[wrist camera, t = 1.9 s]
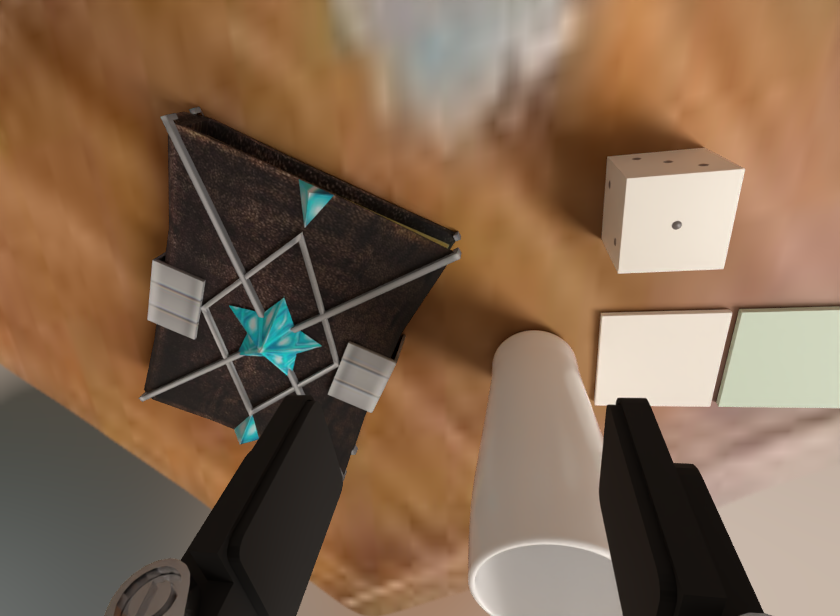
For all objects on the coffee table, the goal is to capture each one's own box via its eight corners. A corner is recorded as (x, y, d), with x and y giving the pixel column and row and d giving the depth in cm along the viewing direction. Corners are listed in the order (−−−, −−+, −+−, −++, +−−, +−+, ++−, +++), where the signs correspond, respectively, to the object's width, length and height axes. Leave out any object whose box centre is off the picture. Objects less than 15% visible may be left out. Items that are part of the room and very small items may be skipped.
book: (198, 102, 26) (137, 114, 21) (469, 226, 27) (462, 261, 22) (165, 370, 37) (121, 413, 33) (357, 450, 38) (338, 501, 34)
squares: (600, 312, 28) (602, 316, 27) (883, 305, 25) (888, 308, 24) (594, 401, 31) (595, 405, 31) (842, 403, 28) (846, 408, 28)
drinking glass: (598, 323, 28) (678, 560, 15) (574, 405, 31) (621, 654, 19) (488, 309, 29) (475, 524, 16) (476, 391, 32) (457, 621, 19)
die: (606, 155, 23) (626, 177, 19) (704, 146, 22) (746, 167, 18) (600, 238, 25) (617, 274, 22) (689, 233, 25) (724, 269, 21)
